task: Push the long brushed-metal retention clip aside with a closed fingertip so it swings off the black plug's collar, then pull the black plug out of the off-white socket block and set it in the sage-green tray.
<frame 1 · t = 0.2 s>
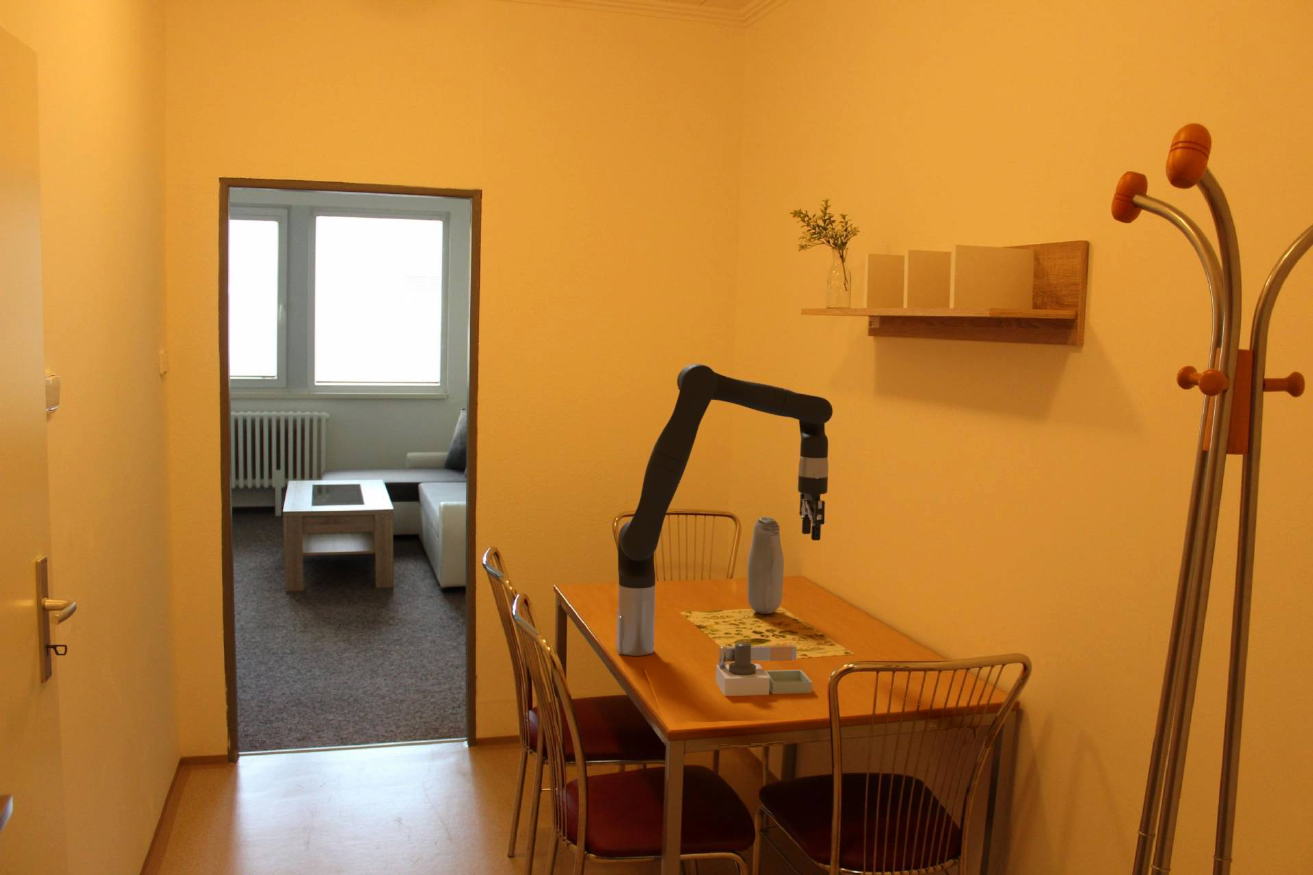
hand: (810, 537, 274), 29 cm above the table, fingers open, 8 cm apart
grey bottle: (764, 613, 311), on the table
plug: (741, 687, 241), point 1 cm above the table, touching socket block
clip: (757, 656, 243), point 7 cm above the table, hinge at 0.0°
socket block: (741, 692, 241), resting on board
tray: (787, 687, 242), resting on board
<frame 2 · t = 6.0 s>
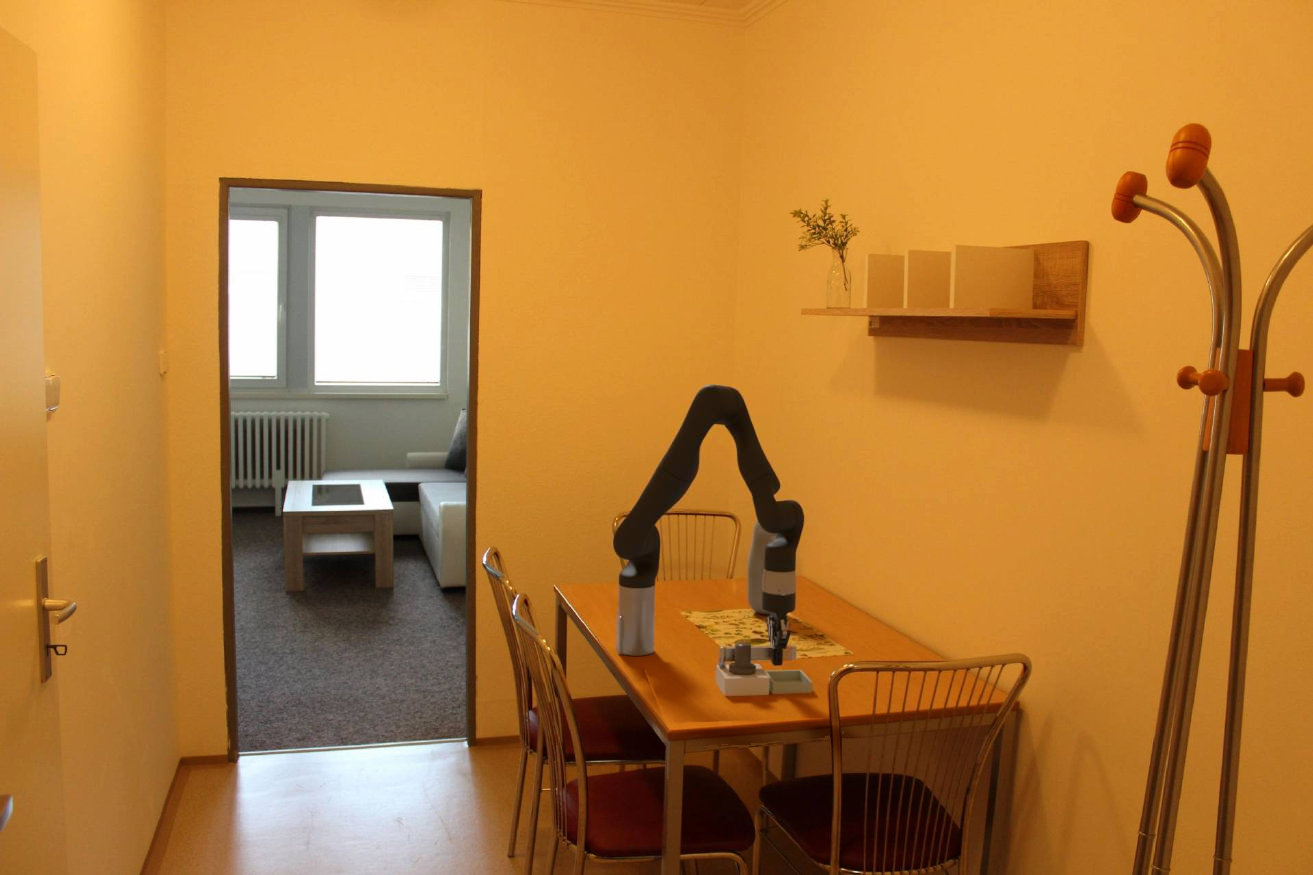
hand: (776, 664, 241), 6 cm above the table, fingers closed
clip: (757, 656, 243), point 7 cm above the table, hinge at 0.2°, touching gripper
everything else where it was.
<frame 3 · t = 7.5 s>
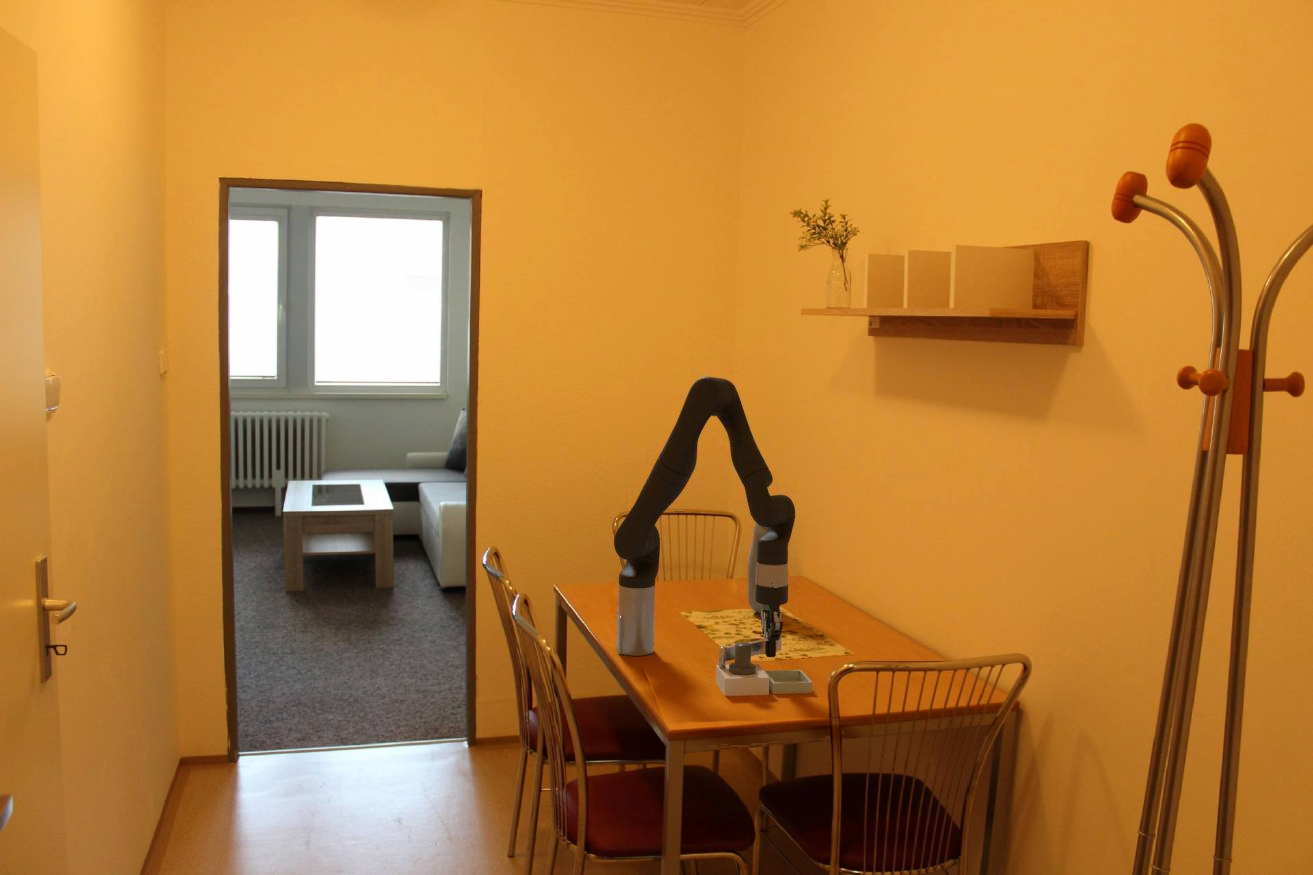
hand: (770, 656, 246), 7 cm above the table, fingers closed
clip: (750, 652, 247), point 7 cm above the table, hinge at 26.4°, touching gripper
everything else where it was.
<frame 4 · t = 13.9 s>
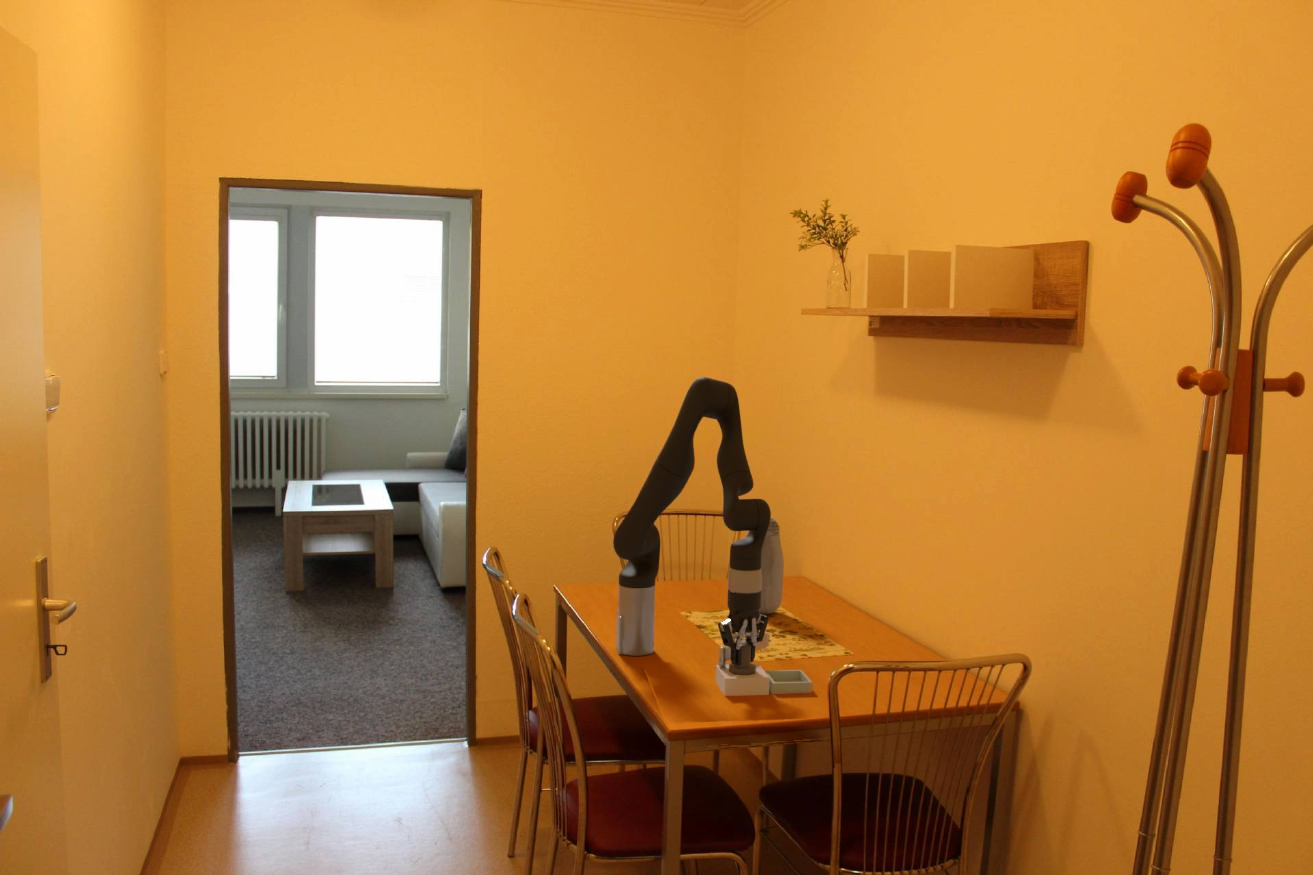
hand: (742, 662, 240), 7 cm above the table, fingers closed on plug, 3 cm apart
plug: (741, 687, 241), point 1 cm above the table, touching gripper, socket block
clip: (744, 650, 248), point 7 cm above the table, hinge at 40.3°
everything else where it was.
when the fingers open (8 cm above the table, at t = 21.0 s): plug drops 1 cm, resting on tray.
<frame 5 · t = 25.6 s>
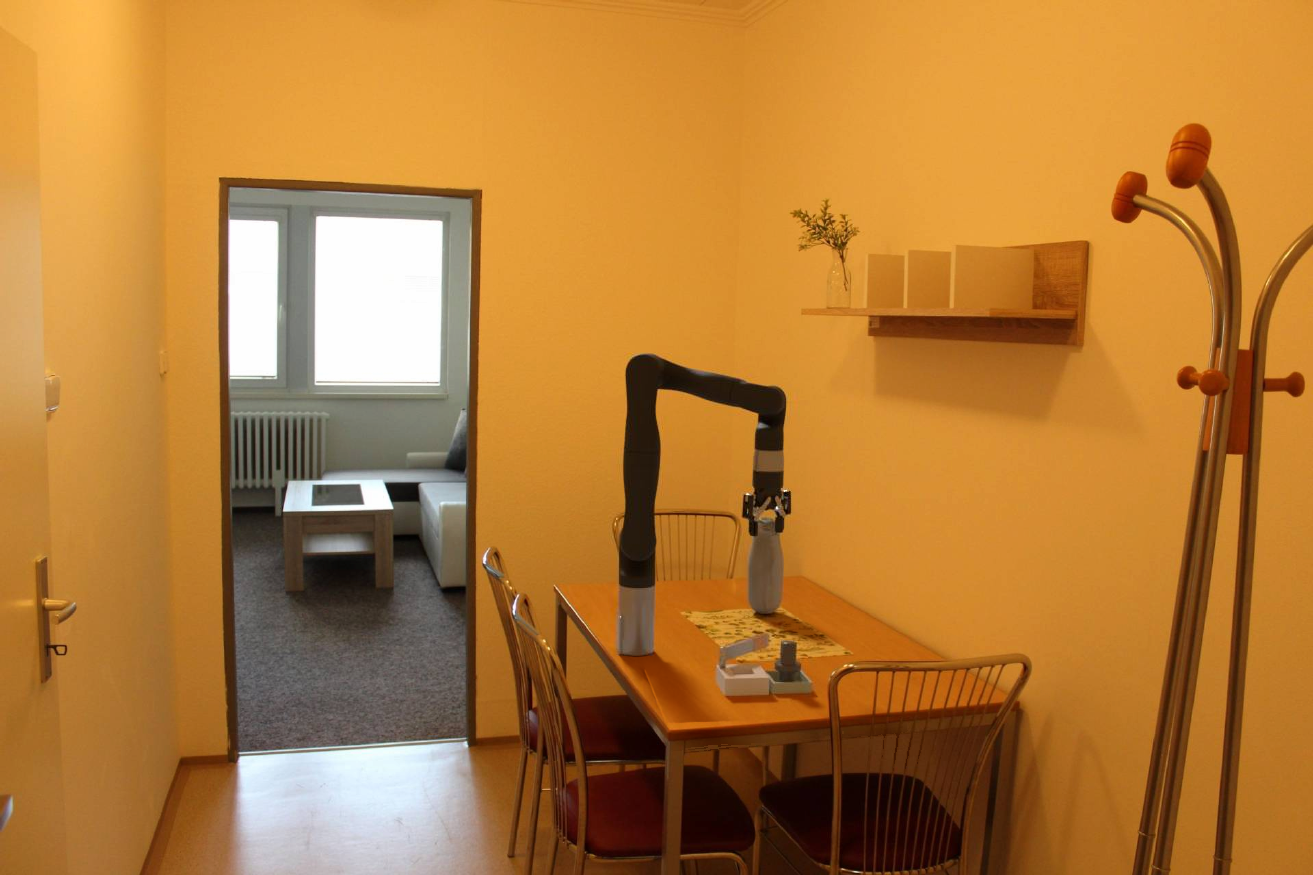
hand: (766, 534, 260), 32 cm above the table, fingers open, 8 cm apart
plug: (787, 685, 242), point 1 cm above the table, touching tray
everything else where it was.
at the end: clip at +40° (first picture: +0°); plug inside the target area on the tray (0.0 cm from its centre), point 0.4 cm above the tray's base; the gripper is holding nothing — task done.
